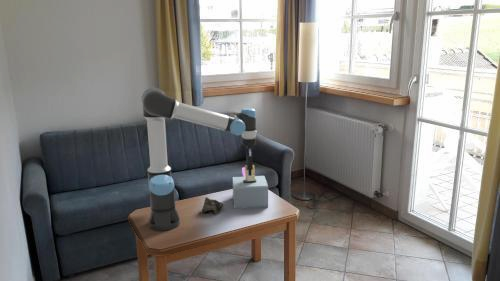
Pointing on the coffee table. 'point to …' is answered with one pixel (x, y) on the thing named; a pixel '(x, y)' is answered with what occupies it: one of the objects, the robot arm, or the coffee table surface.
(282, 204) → the coffee table surface
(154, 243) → the coffee table surface
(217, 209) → the fossil
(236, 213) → the coffee table surface
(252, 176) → the block
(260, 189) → the coin box
